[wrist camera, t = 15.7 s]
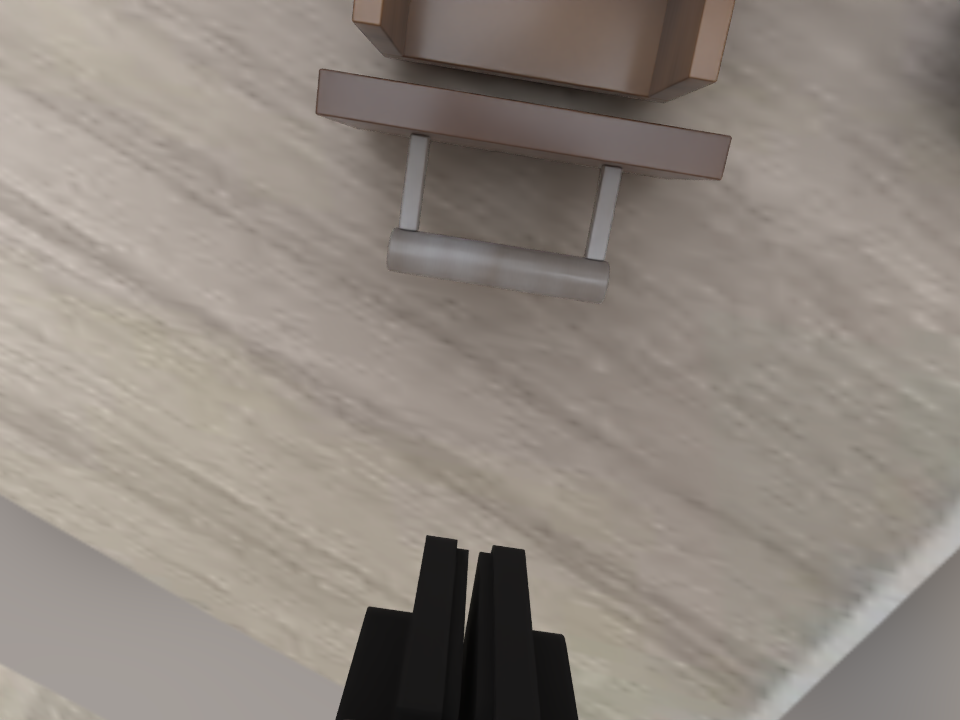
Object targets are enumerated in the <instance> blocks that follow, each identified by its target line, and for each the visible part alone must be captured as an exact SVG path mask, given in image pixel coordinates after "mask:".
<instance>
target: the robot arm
mask: <svg viewBox="0 0 960 720" xmlns="http://www.w3.org/2000/svg"><path fill="white" fill-rule="evenodd" d="M468 554H469V550H465V549H458V548H457V540H455V539H449V538H442V537H435V536H428V535H427V536H426V542H425V547H424V553H423V559H422V564H421V570H420V576H419V581H418V587H417V593H416V598H415V604H414V609H413V613H410V612H403V611H396V610H389V609H383V608H376V607H368V608H367V611H366V614H365V618H364V621H363V625H362V628H361V632H360V635H359V639H358V642H357V646H356V649H355V653H354V656H353V660H352V663H351V667H350V670H349V674H348V677H347V681H346V685H345V688H344V692H343V695H342V699H341V702H340V706H339V709H338V713H337V716H336V720H578V715H577V708H576V702H575V696H574V690H573V684H572V678H571V672H570V665H569V659H568V653H567V647H566V642H565V638H564V636H563V635H562V634H555V633H548V632H541V631H535V630H532V621H531V610H530V599H529V589H528V578H527V567H526V556H525V550H523V549H516V548H510V547H503V546H496V545H493V547H492V551H491V553H485V552H480V553H479V557H478V563H477V569H476V574H475V580H474V586H473V591H472V597H471V603H470V609H469V614H468V620H467V626H466V632H465V637H464V624H465V606H466V589H467V571H468ZM463 641H464V643H463Z"/></svg>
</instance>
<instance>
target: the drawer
mask: <svg viewBox="0 0 960 720" xmlns="http://www.w3.org/2000/svg"><path fill="white" fill-rule="evenodd" d="M734 4H735V0H354V4H353V14H352V21H353V23H354V24H355V25H356V26H357V27H358V28H359V29H360V30H361V31H362V33H363V34H364V35H365V36H366V37H367V38H368V39H369V40H370V41H371V43H372V44H373V45H374V46H375V47H376V48H377V49H378V50H379V51H380V52H381V53H382V54H383V55H384V56H385V57H388V58H394V59H400V60H406V61H412V62H418V63H424V64H430V65H436V66H442V67H448V68H454V69H460V70H466V71H473V72H479V73H485V74H491V75H497V76H503V77H509V78H515V79H521V80H527V81H533V82H539V83H545V84H551V85H557V86H563V87H569V88H575V89H581V90H587V91H593V92H599V93H605V94H611V95H617V96H624V97H630V98H636V99H642V100H648V101H654V102H660V103H666V102H668V101H671V100H674V99H676V98H679V97H681V96H683V95H686V94H688V93H691V92H693V91H696V90H698V89H701V88H703V87H705V86H708V85H710V84H713V83H715V82H716V81H717V78H718V74H719V69H720V65H721V61H722V56H723V52H724V48H725V43H726V39H727V35H728V30H729V26H730V21H731V17H732V13H733V8H734ZM316 114H317V115H319V116H322V117H325V118H328V119H331V120H334V121H337V122H340V123H342V124H345V125H348V126H351V127H354V128H357V129H361V130H367V131H373V132H379V133H386V134H392V135H398V136H404V137H410V139H409V147H408V155H407V163H406V171H405V179H404V187H403V195H402V203H401V211H400V220H399V228H397V227H396V228H393V230H392V232H391V235H390V240H389V245H388V253H387V268H388V270H389V271H393V272H399V273H405V274H412V275H418V276H424V277H431V278H437V279H443V280H450V281H456V282H463V283H469V284H475V285H482V286H488V287H494V288H501V289H507V290H513V291H520V292H526V293H532V294H539V295H545V296H551V297H558V298H564V299H570V300H577V301H583V302H589V303H596V304H600V303H602V302H603V300H604V298H605V295H606V292H607V288H608V284H609V277H610V266H609V262H607V261H604V260H605V256H606V251H607V246H608V241H609V236H610V231H611V227H612V222H613V217H614V212H615V207H616V202H617V197H618V192H619V187H620V182H621V177H622V172H625V173H631V174H637V175H644V176H650V177H656V178H662V179H683V180H721V179H722V177H723V172H724V168H725V164H726V160H727V156H728V151H729V147H730V143H731V139H732V137H731V136H728V135H722V134H716V133H710V132H704V131H698V130H692V129H686V128H680V127H674V126H667V125H661V124H655V123H649V122H643V121H637V120H631V119H625V118H619V117H613V116H607V115H601V114H595V113H589V112H583V111H576V110H570V109H564V108H558V107H552V106H546V105H540V104H534V103H528V102H522V101H516V100H510V99H504V98H498V97H491V96H485V95H479V94H473V93H467V92H461V91H455V90H449V89H443V88H437V87H431V86H425V85H419V84H413V83H407V82H400V81H394V80H388V79H382V78H376V77H370V76H364V75H358V74H352V73H346V72H340V71H334V70H328V69H320V70H319V79H318V90H317V101H316ZM430 141H435V142H441V143H447V144H453V145H459V146H465V147H472V148H478V149H484V150H490V151H496V152H502V153H508V154H515V155H521V156H527V157H533V158H539V159H545V160H551V161H558V162H564V163H570V164H576V165H582V166H588V167H594V168H601V171H600V176H599V182H598V187H597V192H596V197H595V202H594V207H593V212H592V218H591V223H590V228H589V233H588V238H587V243H586V248H585V254H584V256H585V257H586V258H585V257H579V256H572V255H566V254H560V253H553V252H547V251H541V250H535V249H528V248H522V247H516V246H510V245H503V244H497V243H491V242H484V241H478V240H472V239H466V238H459V237H453V236H447V235H441V234H434V233H428V232H422V231H417V230H418V229H419V224H420V217H421V209H422V201H423V194H424V186H425V179H426V171H427V163H428V156H429V148H430Z"/></svg>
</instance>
